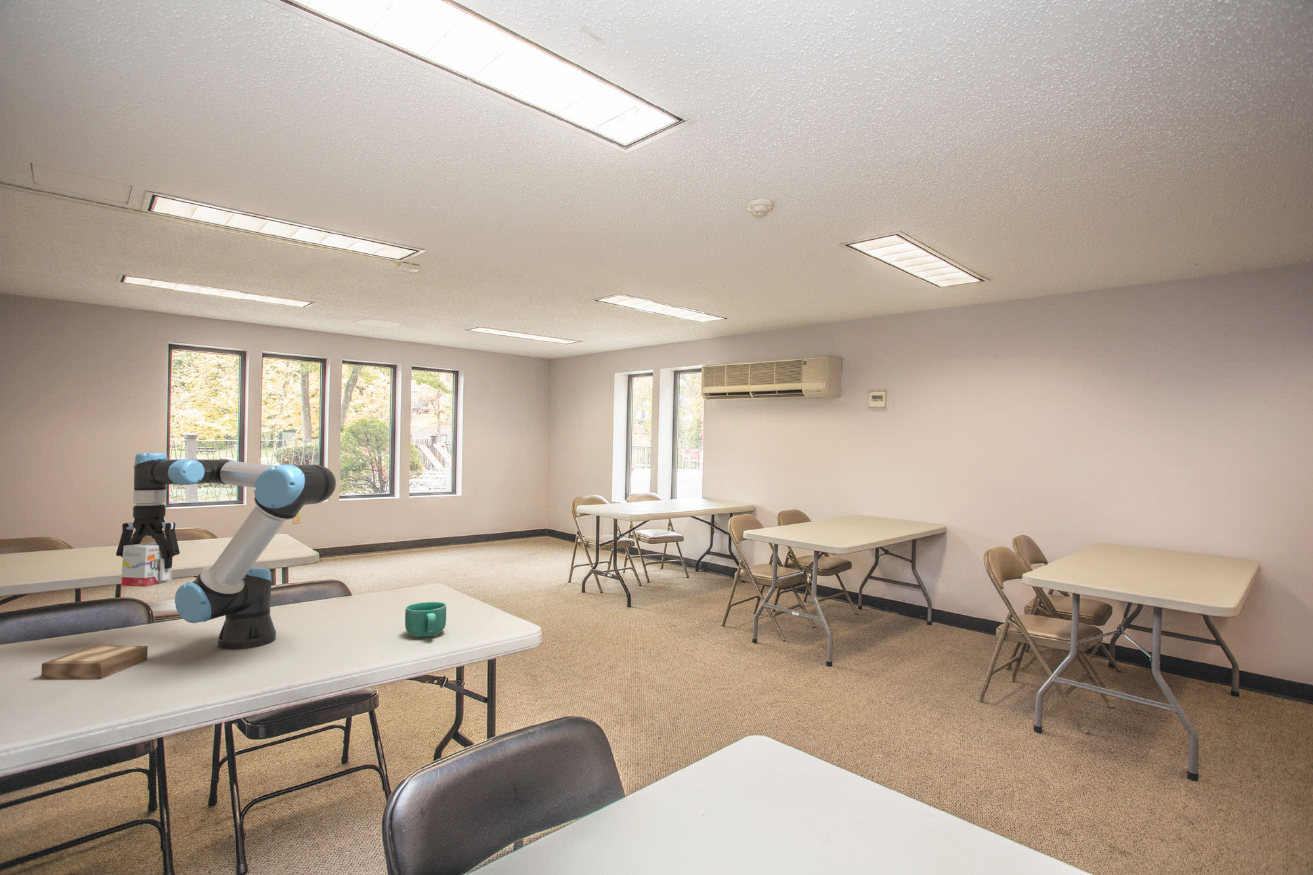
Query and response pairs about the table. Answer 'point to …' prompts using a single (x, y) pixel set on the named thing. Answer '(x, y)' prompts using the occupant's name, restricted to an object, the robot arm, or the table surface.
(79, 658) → the riser
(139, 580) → the ink box
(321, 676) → the table surface
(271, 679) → the table surface
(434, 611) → the mug
